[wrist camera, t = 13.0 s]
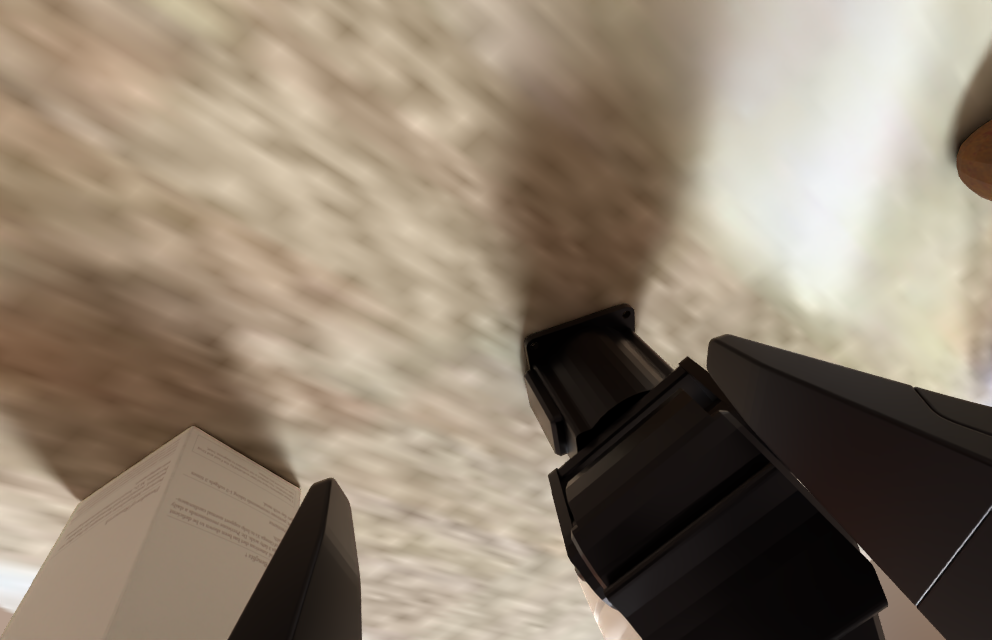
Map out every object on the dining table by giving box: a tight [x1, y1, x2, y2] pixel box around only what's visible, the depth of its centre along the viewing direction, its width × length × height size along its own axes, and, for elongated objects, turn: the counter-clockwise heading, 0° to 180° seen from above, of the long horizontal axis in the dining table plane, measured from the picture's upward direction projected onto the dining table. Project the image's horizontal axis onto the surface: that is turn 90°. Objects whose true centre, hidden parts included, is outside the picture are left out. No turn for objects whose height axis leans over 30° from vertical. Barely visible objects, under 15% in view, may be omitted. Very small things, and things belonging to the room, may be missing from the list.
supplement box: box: [0, 426, 301, 640], centre depth 18 cm, size 7×7×13 cm
